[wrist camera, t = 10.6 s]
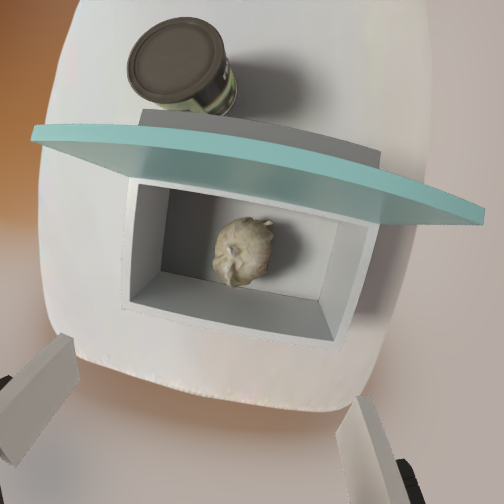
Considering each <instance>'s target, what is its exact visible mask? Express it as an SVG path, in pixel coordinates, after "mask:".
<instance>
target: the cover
mask: <svg viewBox="0 0 504 504" xmlns="http://www.w3.org/2000/svg"><path fill="white" fill-rule="evenodd" d="M31 141H32V142H35V143H38V144H41V145H44V146H46V147H49V148H52V149H55V150H58V151H60V152H63V153H66V154H69V155H71V156H74V157H77V158H80V159H82V160H85V161H88V162H91V163H93V164H96V165H99V166H101V167H104V168H107V169H109V170H112V171H115V172H117V173H120V174H123V175H125V176H128V177H134V178H142V179H149V180H156V181H163V182H170V183H177V184H183V185H190V186H196V187H202V188H208V189H214V190H220V191H226V192H231V193H237V194H243V195H248V196H253V197H259V198H264V199H269V200H274V201H279V202H284V203H289V204H294V205H298V206H303V207H308V208H312V209H317V210H322V211H326V212H330V213H335V214H339V215H343V216H348V217H352V218H356V219H360V220H364V221H368V222H372V223H376V224H380V225H386V224H427V225H429V224H430V225H431V224H432V225H433V224H434V225H435V224H436V225H438V224H439V225H483V224H484V213H485V208H483V207H481V206H478V205H476V204H474V203H471V202H469V201H466V200H464V199H462V198H459V197H456V196H454V195H451V194H449V193H446V192H444V191H441V190H438V189H436V188H433V187H431V186H427V185H425V184H422V183H419V182H417V181H414V180H411V179H408V178H405V177H402V176H399V175H396V174H392V173H389V172H386V171H383V170H380V169H379V163H380V154H381V151H378V150H374V149H371V148H368V147H364V146H361V145H358V144H354V143H351V142H347V141H343V140H340V139H336V138H332V137H328V136H324V135H320V134H316V133H312V132H307V131H303V130H299V129H294V128H289V127H284V126H279V125H274V124H269V123H264V122H258V121H252V120H246V119H239V118H233V117H226V116H218V115H210V114H202V113H192V112H182V111H169V110H154V109H143V111H142V114H141V118H140V121H139V125H138V126H134V125H113V124H50V125H35V126H34V130H33V133H32V137H31Z"/></svg>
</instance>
